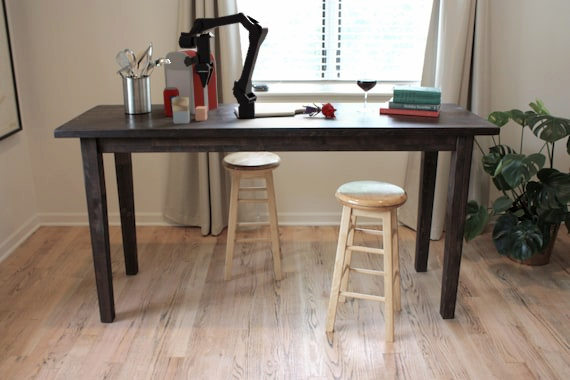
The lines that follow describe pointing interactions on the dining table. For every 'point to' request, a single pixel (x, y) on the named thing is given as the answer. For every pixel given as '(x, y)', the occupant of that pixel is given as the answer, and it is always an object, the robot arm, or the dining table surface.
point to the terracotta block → (201, 113)
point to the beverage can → (169, 99)
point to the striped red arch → (190, 80)
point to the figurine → (321, 110)
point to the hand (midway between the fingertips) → (205, 86)
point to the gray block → (181, 116)
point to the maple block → (180, 103)
